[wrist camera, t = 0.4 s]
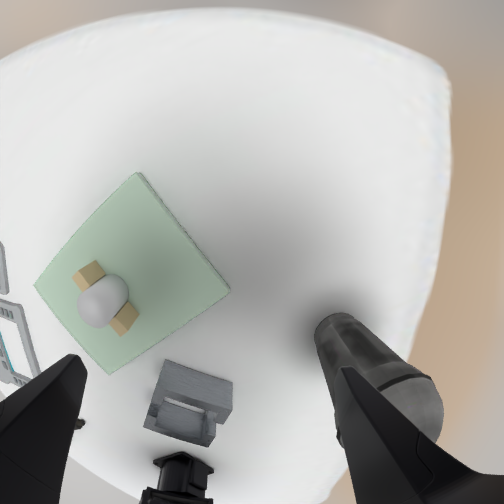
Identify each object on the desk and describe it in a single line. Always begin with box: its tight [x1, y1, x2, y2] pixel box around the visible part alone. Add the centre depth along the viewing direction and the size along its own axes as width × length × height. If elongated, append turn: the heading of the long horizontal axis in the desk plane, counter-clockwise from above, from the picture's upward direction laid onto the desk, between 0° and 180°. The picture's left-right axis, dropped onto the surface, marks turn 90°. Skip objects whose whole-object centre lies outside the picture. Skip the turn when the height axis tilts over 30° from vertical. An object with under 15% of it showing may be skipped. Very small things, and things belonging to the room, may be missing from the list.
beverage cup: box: [315, 313, 444, 448], centre depth 15 cm, size 7×7×20 cm
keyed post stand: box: [33, 172, 230, 375], centre depth 20 cm, size 16×12×5 cm
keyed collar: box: [143, 359, 232, 447], centre depth 23 cm, size 7×7×4 cm
